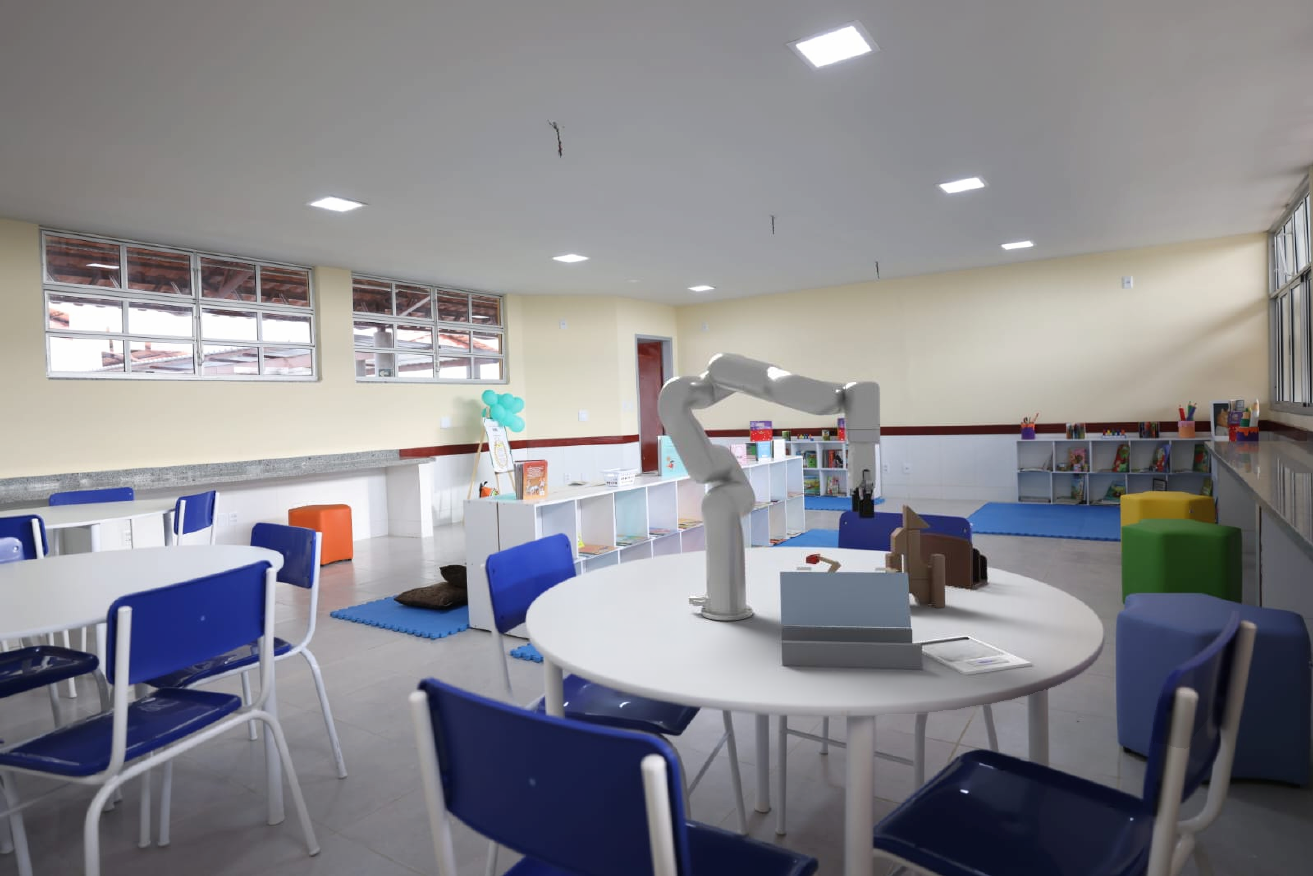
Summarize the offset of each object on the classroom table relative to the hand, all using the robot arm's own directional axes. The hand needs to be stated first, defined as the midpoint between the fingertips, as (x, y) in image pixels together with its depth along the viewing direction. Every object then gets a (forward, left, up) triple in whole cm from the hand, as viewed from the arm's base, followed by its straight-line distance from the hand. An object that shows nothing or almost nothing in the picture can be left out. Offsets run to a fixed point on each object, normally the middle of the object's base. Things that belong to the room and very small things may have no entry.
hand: (862, 514), depth 161 cm
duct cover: (-5, -13, -15) cm, 21 cm away
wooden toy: (+14, +21, -26) cm, 36 cm away
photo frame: (+18, -15, -26) cm, 35 cm away
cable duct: (-5, -19, -26) cm, 32 cm away
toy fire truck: (-4, +35, -26) cm, 44 cm away
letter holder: (+27, +48, -26) cm, 61 cm away
